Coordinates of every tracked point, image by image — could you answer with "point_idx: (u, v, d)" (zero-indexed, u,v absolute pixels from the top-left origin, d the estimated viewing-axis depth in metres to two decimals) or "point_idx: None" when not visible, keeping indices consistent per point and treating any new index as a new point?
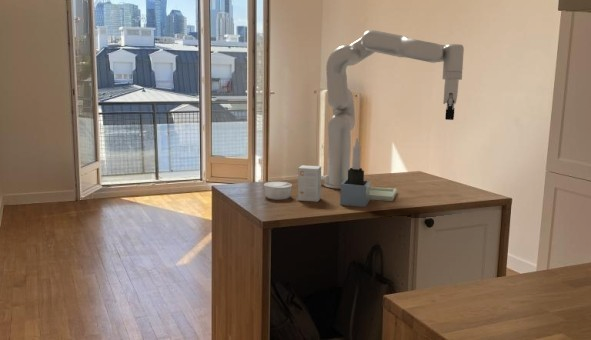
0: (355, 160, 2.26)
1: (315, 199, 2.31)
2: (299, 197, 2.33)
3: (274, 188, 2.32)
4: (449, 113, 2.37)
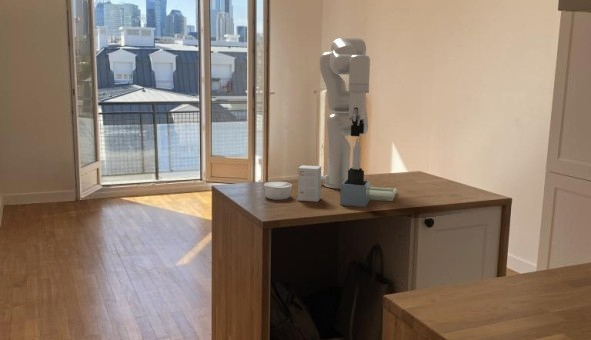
0: (355, 160, 2.26)
1: (315, 199, 2.31)
2: (299, 197, 2.33)
3: (274, 188, 2.32)
4: (354, 129, 2.20)
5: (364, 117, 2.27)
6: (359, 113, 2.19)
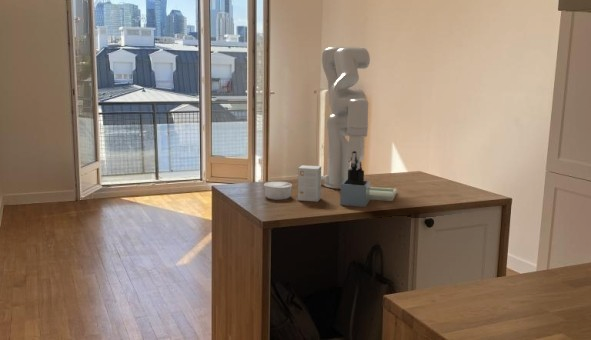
0: None
1: (315, 199, 2.31)
2: (299, 197, 2.33)
3: (274, 188, 2.32)
4: (353, 174, 2.24)
5: (362, 159, 2.30)
6: (357, 157, 2.22)
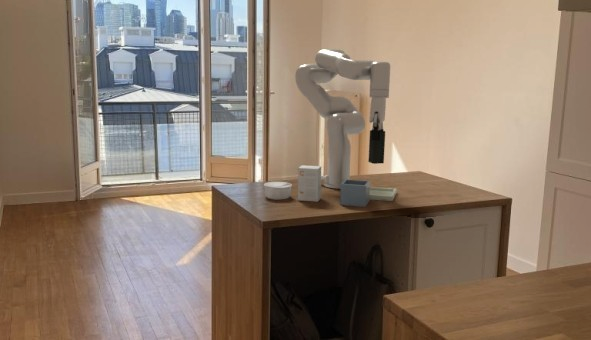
0: None
1: (315, 199, 2.31)
2: (299, 197, 2.33)
3: (274, 188, 2.32)
4: (375, 134, 2.34)
5: None
6: (379, 117, 2.32)
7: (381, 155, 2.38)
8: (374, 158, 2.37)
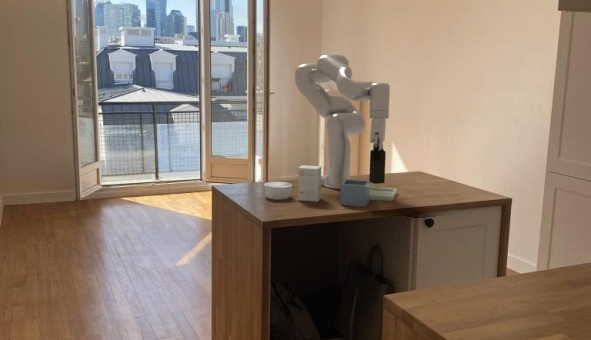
0: None
1: (315, 199, 2.31)
2: (299, 197, 2.33)
3: (274, 188, 2.32)
4: (375, 154, 2.36)
5: None
6: (380, 137, 2.34)
7: (382, 175, 2.40)
8: (375, 178, 2.39)
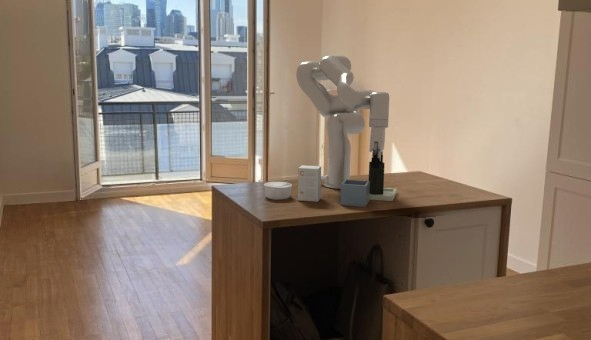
0: None
1: (315, 199, 2.31)
2: (299, 197, 2.33)
3: (274, 188, 2.32)
4: (375, 161, 2.35)
5: (383, 149, 2.42)
6: (379, 146, 2.34)
7: (381, 186, 2.41)
8: (374, 189, 2.40)
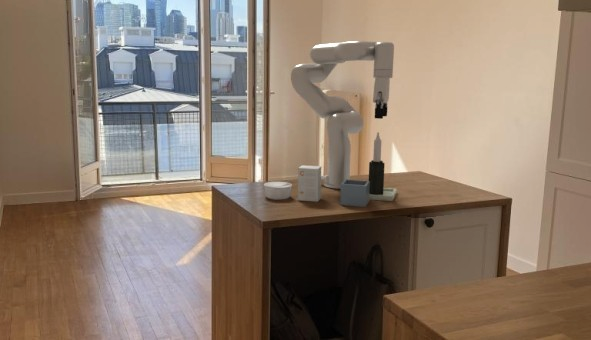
0: (376, 153, 2.39)
1: (315, 199, 2.31)
2: (299, 197, 2.33)
3: (274, 188, 2.32)
4: (378, 112, 2.34)
5: (387, 101, 2.41)
6: (383, 97, 2.33)
7: (381, 186, 2.41)
8: (374, 190, 2.40)
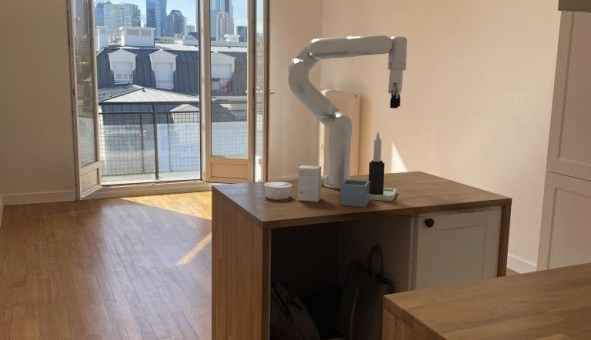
0: (376, 153, 2.39)
1: (315, 199, 2.31)
2: (299, 197, 2.33)
3: (274, 188, 2.32)
4: (393, 102, 2.50)
5: None
6: (398, 88, 2.49)
7: (381, 186, 2.41)
8: (374, 190, 2.40)
